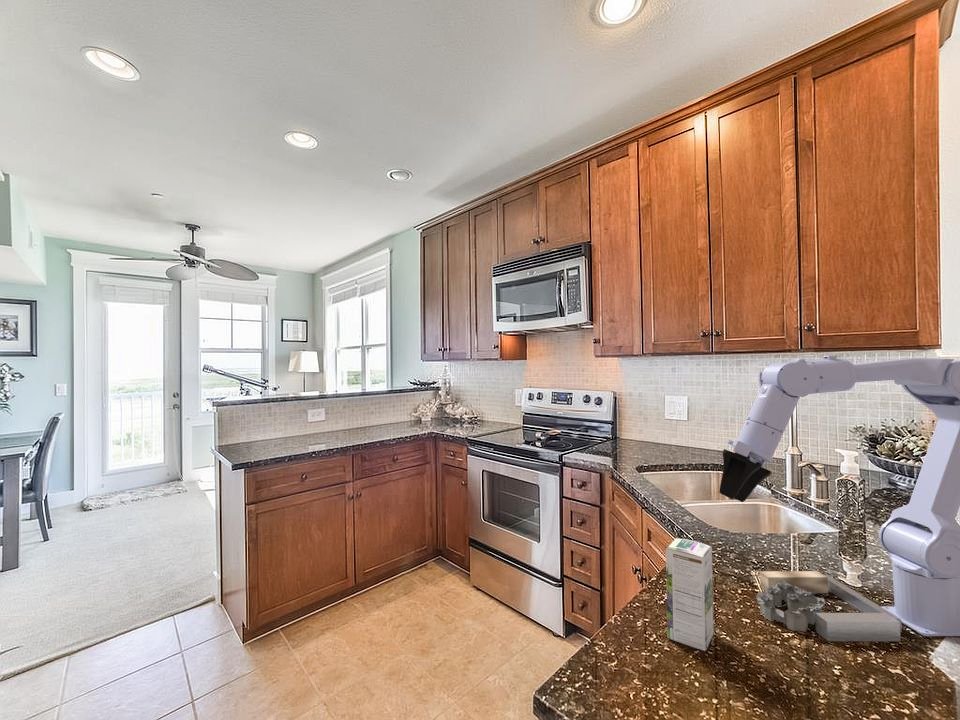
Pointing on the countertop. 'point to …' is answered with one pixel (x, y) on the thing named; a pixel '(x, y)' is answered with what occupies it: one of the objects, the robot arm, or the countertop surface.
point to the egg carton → (790, 605)
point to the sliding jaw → (796, 580)
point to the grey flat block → (857, 619)
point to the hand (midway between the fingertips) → (731, 497)
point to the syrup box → (689, 593)
